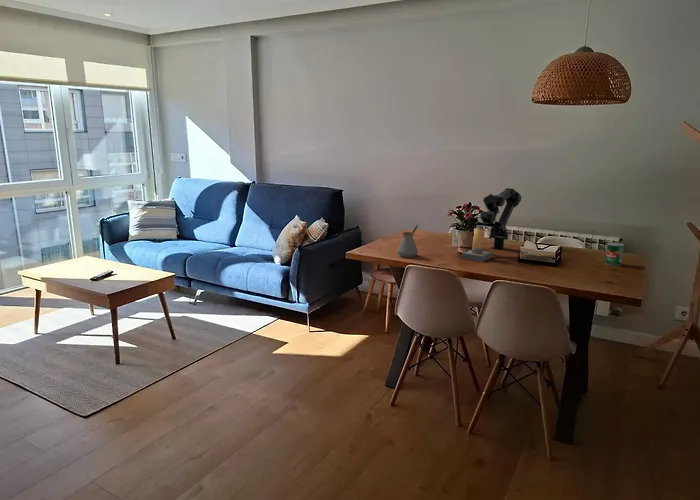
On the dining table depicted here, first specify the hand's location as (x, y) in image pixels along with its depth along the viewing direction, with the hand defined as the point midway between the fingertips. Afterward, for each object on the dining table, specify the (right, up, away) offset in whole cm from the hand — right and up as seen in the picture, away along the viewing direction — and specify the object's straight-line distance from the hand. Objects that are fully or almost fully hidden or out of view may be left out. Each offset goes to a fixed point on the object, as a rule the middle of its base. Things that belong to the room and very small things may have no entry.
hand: (481, 237), depth 274 cm
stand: (-3, -11, -1) cm, 12 cm away
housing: (-3, -8, -2) cm, 9 cm away
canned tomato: (+65, -15, -13) cm, 68 cm away
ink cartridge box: (-6, -5, +26) cm, 27 cm away
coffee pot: (-38, -10, +8) cm, 40 cm away
